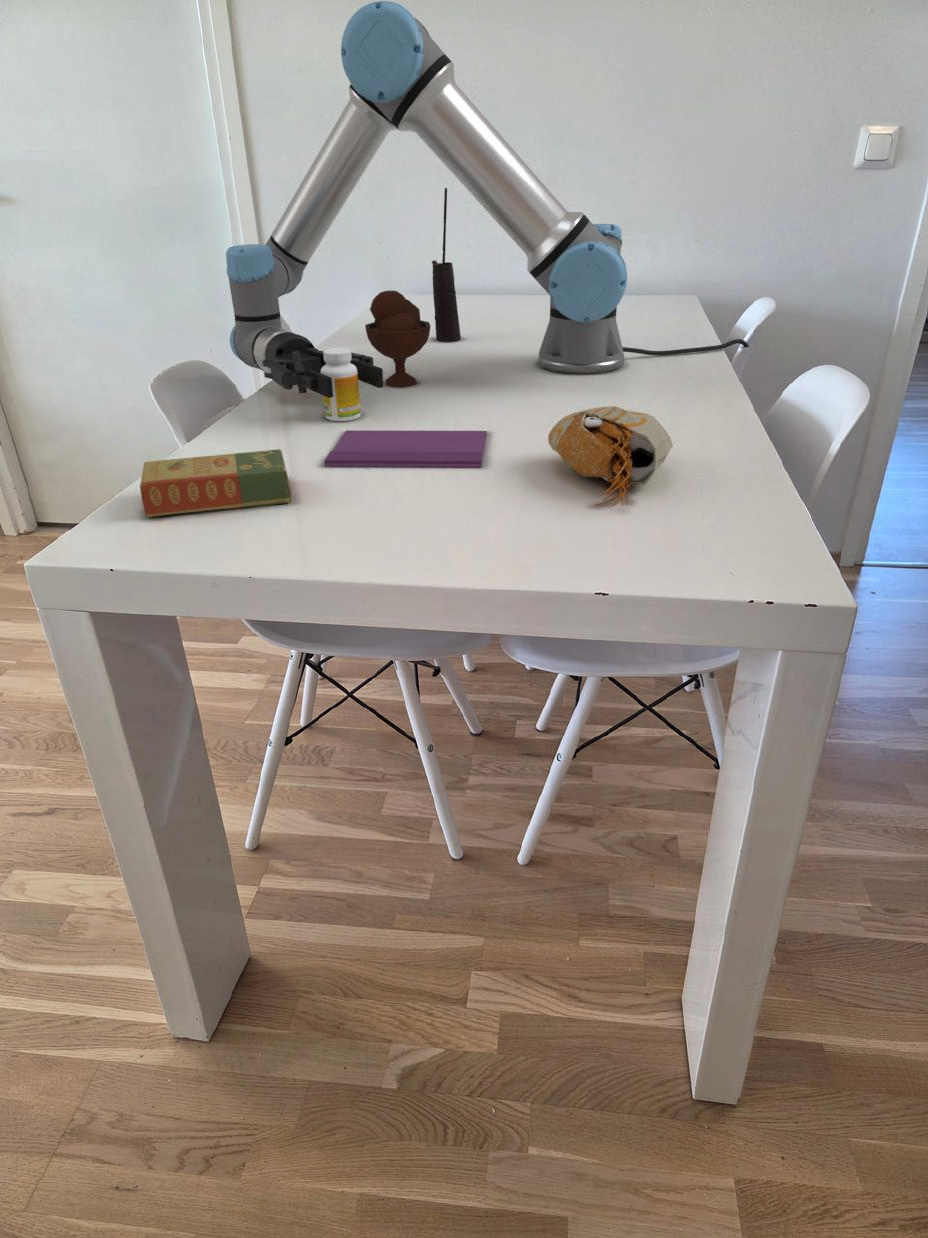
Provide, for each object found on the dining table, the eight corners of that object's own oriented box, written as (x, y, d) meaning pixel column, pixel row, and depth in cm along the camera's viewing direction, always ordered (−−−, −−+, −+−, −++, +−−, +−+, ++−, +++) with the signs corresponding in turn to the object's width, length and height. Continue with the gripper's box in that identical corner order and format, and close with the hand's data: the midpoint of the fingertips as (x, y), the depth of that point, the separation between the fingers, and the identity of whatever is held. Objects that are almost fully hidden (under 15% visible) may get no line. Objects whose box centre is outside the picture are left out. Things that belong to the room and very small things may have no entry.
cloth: (486, 433, 118) (486, 427, 117) (481, 467, 106) (481, 461, 105) (346, 433, 119) (345, 427, 119) (324, 466, 107) (324, 460, 107)
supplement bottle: (367, 413, 128) (362, 347, 123) (351, 423, 123) (345, 355, 118) (335, 410, 129) (328, 345, 124) (318, 420, 125) (311, 353, 120)
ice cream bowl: (425, 392, 138) (421, 295, 130) (360, 389, 140) (352, 294, 132) (439, 376, 147) (436, 284, 139) (378, 374, 149) (372, 284, 141)
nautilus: (667, 525, 90) (528, 521, 94) (673, 450, 107) (556, 449, 111) (670, 456, 86) (525, 454, 89) (676, 388, 103) (555, 390, 107)
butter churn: (414, 337, 176) (407, 187, 162) (455, 332, 179) (452, 185, 165) (431, 345, 169) (425, 188, 155) (474, 340, 172) (472, 186, 158)
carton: (150, 494, 100) (142, 459, 98) (286, 479, 103) (282, 445, 101) (146, 519, 93) (138, 483, 91) (292, 503, 96) (288, 467, 94)
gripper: (344, 369, 143) (417, 396, 127) (229, 389, 133) (293, 422, 117) (339, 323, 139) (414, 345, 123) (222, 340, 129) (286, 367, 113)
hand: (355, 382), depth 120 cm, fingers open, 8 cm apart
